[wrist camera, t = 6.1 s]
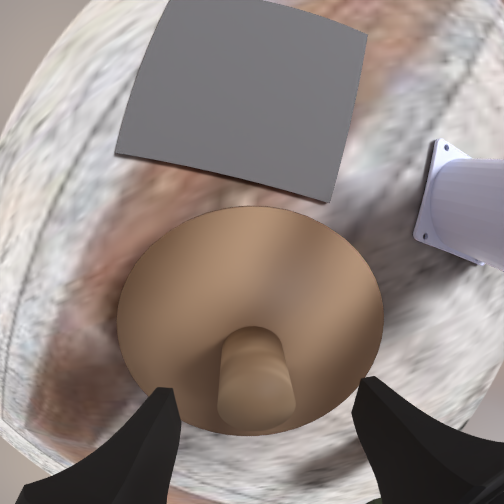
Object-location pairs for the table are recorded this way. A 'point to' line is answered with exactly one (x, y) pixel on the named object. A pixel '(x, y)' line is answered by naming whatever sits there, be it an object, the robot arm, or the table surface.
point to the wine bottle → (376, 501)
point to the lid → (251, 320)
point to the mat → (247, 93)
